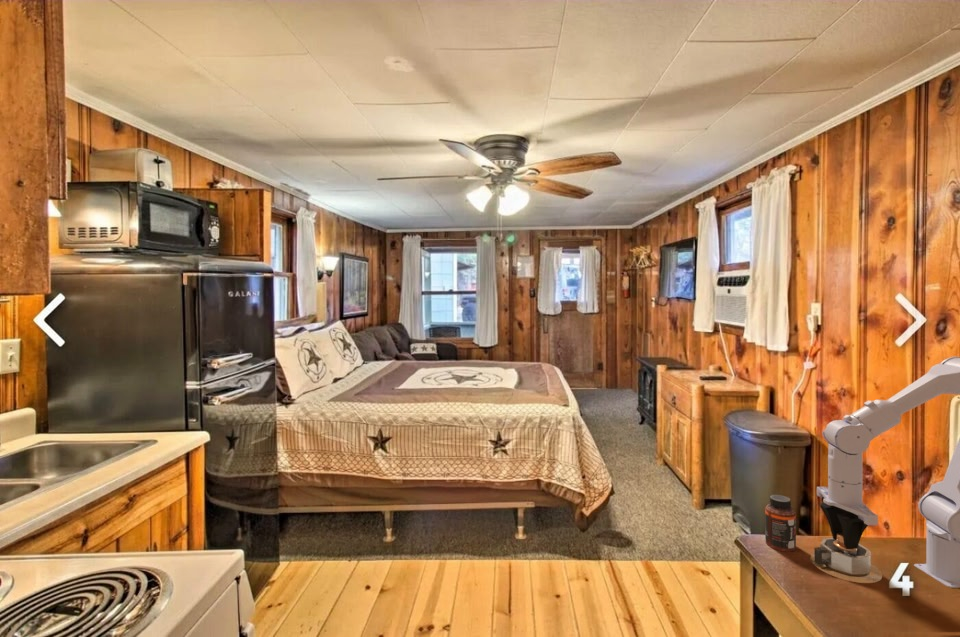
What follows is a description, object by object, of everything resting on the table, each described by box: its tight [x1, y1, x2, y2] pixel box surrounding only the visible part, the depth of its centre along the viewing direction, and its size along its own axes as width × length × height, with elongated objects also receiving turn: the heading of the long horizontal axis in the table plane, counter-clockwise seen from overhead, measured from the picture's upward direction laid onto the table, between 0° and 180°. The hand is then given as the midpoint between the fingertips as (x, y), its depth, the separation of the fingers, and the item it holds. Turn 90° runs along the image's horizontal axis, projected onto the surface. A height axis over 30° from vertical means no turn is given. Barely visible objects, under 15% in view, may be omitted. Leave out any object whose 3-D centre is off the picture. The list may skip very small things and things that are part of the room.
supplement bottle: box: [764, 494, 797, 553], centre depth 110 cm, size 6×6×11 cm
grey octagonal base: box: [809, 537, 883, 584], centre depth 101 cm, size 12×12×4 cm
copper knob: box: [833, 532, 857, 556], centre depth 101 cm, size 6×6×6 cm
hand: (844, 543), depth 101 cm, fingers closed on copper knob, 3 cm apart
